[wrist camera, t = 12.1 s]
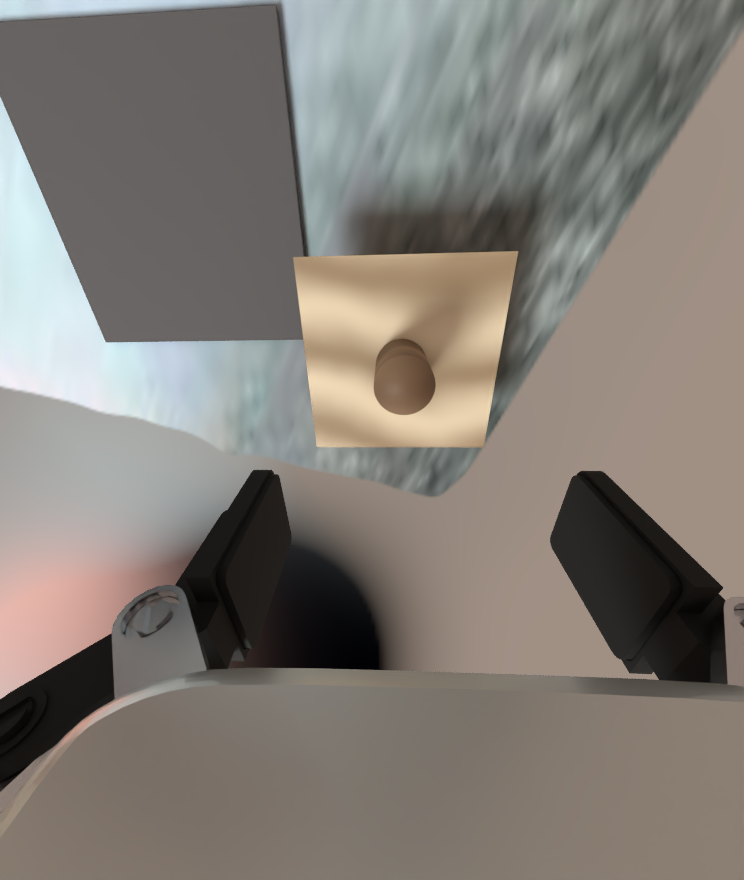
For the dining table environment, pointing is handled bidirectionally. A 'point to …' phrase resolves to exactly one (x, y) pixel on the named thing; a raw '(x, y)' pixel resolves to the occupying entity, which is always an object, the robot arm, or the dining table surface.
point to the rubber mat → (165, 166)
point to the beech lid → (403, 345)
